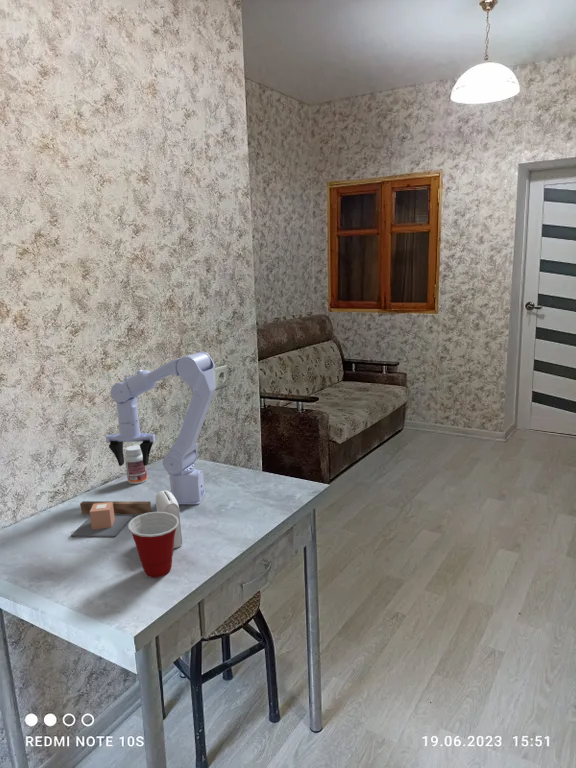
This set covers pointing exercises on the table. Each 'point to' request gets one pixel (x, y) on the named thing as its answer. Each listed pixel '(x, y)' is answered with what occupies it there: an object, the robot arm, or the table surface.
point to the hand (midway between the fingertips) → (133, 464)
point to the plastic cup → (154, 541)
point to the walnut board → (120, 507)
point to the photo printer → (170, 505)
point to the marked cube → (102, 515)
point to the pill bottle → (135, 465)
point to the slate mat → (113, 531)
